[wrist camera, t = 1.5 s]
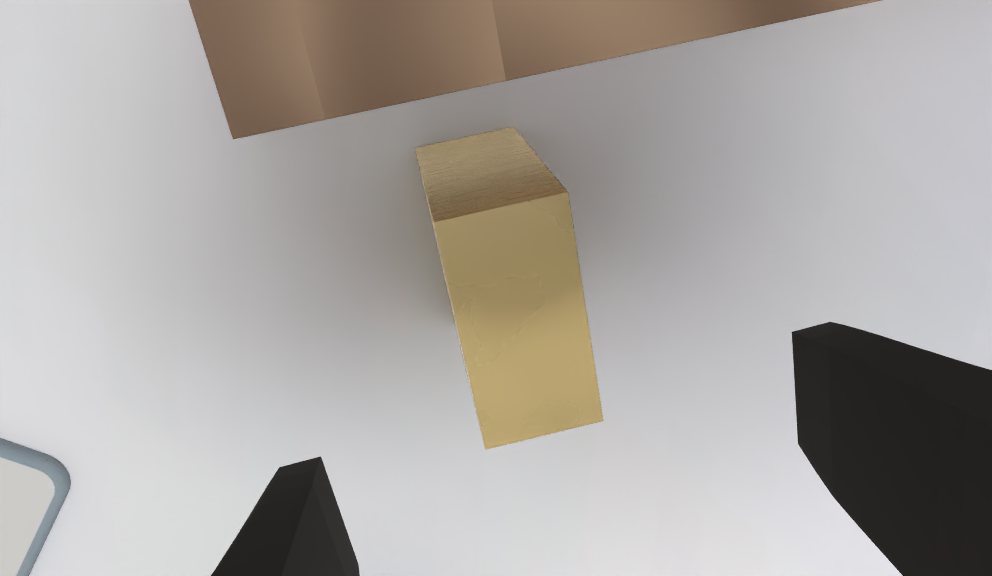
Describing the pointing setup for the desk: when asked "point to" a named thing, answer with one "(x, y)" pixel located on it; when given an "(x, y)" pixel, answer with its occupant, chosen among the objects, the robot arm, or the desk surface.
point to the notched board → (434, 46)
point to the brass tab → (512, 285)
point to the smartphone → (27, 504)
